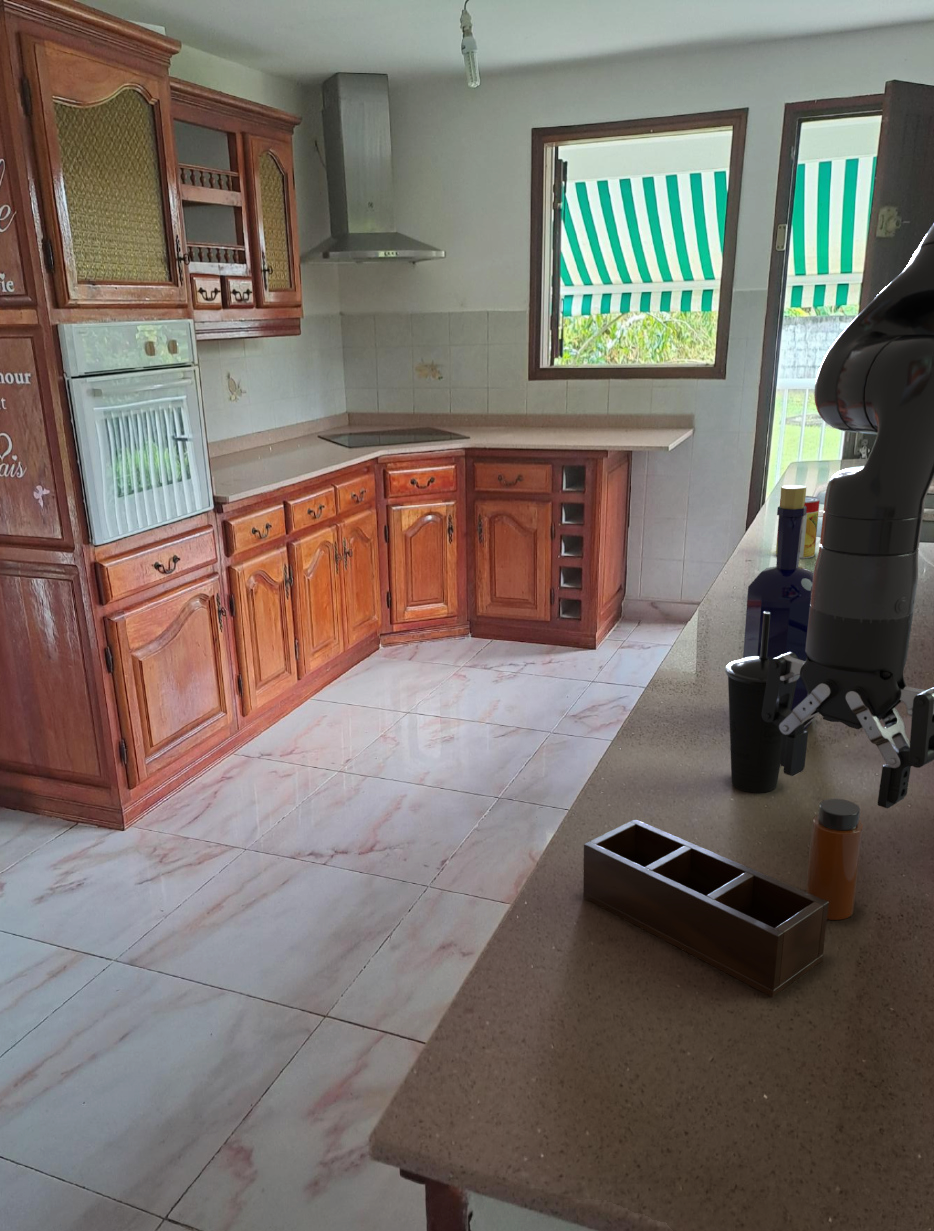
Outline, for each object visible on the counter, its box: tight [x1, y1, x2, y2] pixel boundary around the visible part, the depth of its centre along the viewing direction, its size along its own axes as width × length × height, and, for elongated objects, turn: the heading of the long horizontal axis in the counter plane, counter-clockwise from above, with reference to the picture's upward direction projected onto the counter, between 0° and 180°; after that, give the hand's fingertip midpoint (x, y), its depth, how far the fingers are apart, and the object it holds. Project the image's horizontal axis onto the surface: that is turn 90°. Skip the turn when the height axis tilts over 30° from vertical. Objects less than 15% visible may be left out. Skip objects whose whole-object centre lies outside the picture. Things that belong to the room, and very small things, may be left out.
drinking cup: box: [724, 612, 800, 794], centre depth 108 cm, size 8×8×20 cm
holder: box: [582, 818, 829, 998], centre depth 85 cm, size 7×20×6 cm, turn 38°
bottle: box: [742, 484, 814, 731], centre depth 124 cm, size 9×9×30 cm
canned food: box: [775, 495, 821, 560], centre depth 212 cm, size 8×8×12 cm
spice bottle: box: [805, 798, 864, 921], centre depth 86 cm, size 4×4×10 cm
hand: (838, 787), depth 84 cm, fingers open, 8 cm apart
